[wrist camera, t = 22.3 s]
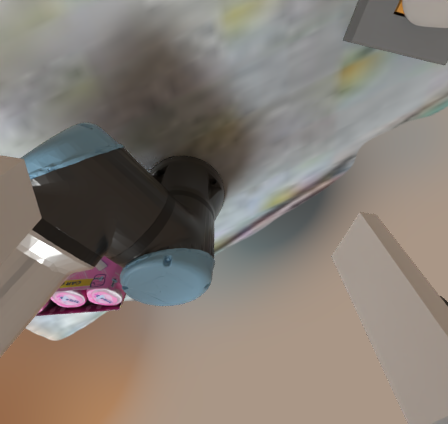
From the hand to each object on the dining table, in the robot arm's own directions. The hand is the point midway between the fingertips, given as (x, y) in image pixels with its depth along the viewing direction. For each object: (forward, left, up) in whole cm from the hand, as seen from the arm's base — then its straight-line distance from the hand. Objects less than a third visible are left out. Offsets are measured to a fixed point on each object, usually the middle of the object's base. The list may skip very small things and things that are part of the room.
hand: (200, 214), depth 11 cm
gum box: (-44, +23, -35) cm, 61 cm away
